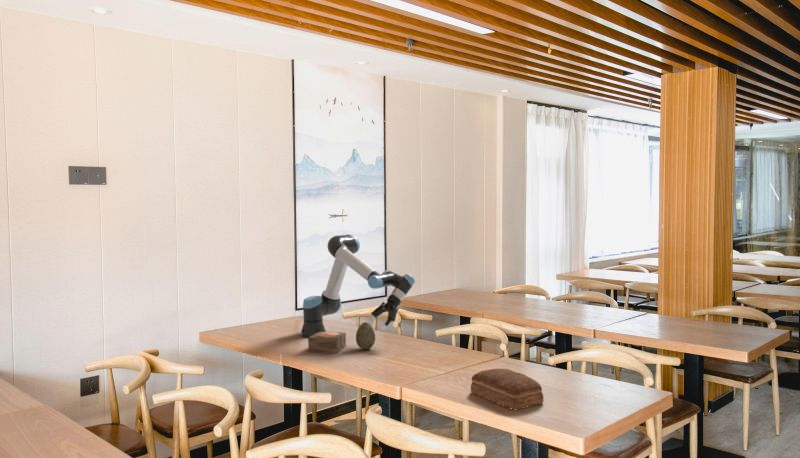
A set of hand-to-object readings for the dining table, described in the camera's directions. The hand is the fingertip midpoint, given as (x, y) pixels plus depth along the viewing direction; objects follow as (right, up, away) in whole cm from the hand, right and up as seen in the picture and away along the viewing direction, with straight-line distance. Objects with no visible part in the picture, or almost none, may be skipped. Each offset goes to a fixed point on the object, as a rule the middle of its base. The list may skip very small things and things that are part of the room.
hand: (374, 327), depth 355 cm
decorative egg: (-5, -12, -2) cm, 13 cm away
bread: (+58, -15, -91) cm, 109 cm away
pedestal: (-26, -12, 0) cm, 29 cm away
